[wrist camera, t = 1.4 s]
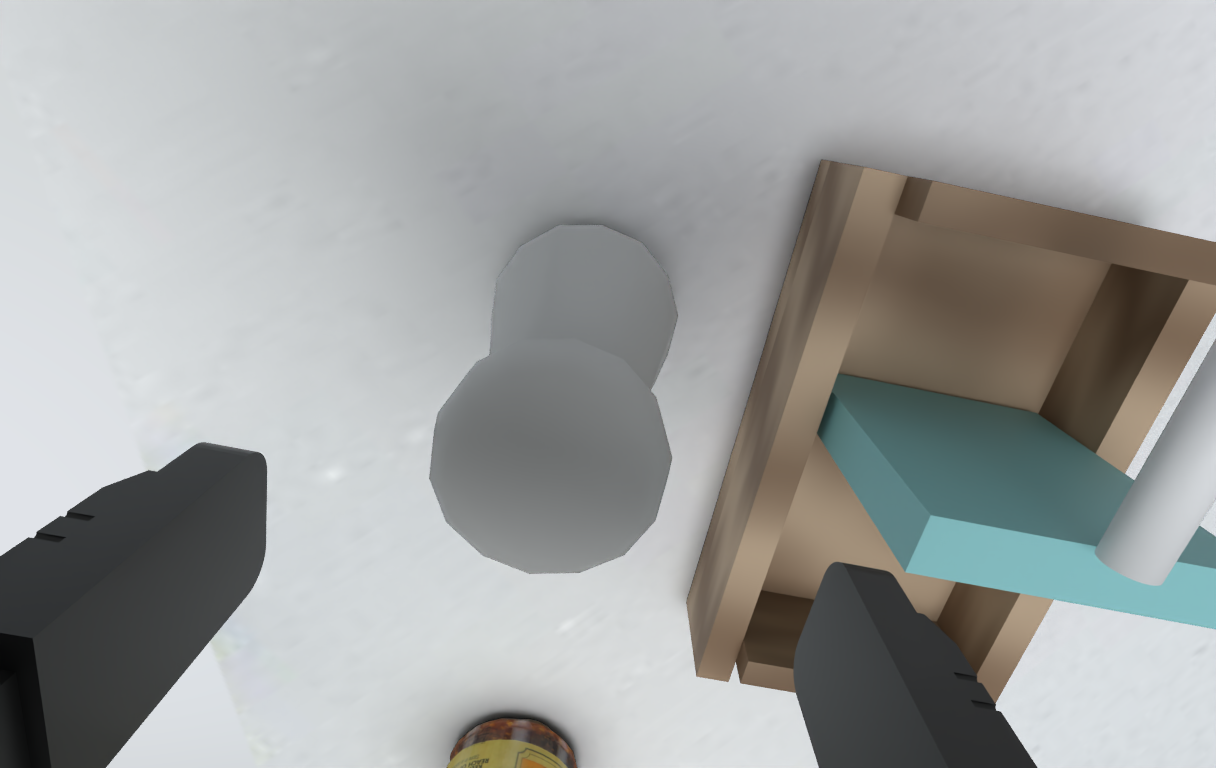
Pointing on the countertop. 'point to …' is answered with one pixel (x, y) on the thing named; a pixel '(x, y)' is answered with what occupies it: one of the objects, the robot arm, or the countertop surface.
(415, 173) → the countertop surface
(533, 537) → the salt shaker
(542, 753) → the sauce bottle
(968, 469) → the pusher paddle
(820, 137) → the countertop surface
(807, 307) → the wooden tray
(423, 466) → the countertop surface
